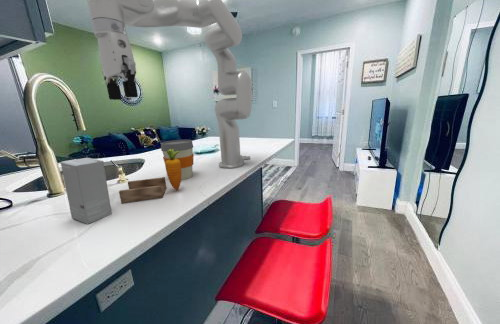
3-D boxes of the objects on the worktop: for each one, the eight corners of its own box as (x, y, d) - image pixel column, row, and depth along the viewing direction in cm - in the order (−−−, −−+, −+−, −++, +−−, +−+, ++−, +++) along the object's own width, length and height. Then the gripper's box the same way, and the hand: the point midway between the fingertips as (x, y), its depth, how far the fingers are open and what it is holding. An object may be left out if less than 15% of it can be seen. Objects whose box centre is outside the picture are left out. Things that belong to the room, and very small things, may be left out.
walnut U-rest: (166, 187, 76) (164, 177, 75) (162, 197, 67) (160, 186, 66) (130, 192, 73) (128, 181, 72) (121, 203, 64) (118, 191, 63)
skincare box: (71, 218, 56) (54, 162, 52) (99, 207, 62) (87, 156, 58) (87, 225, 52) (71, 165, 48) (116, 212, 58) (103, 158, 54)
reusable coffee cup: (166, 174, 92) (161, 141, 88) (195, 171, 96) (192, 138, 92) (164, 183, 80) (158, 145, 77) (197, 179, 84) (193, 142, 80)
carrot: (176, 187, 76) (170, 147, 72) (187, 188, 74) (181, 147, 70) (166, 192, 71) (159, 149, 68) (177, 194, 69) (171, 150, 66)
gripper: (141, 27, 53) (152, 96, 58) (111, 42, 63) (123, 100, 67) (109, 17, 47) (123, 95, 52) (82, 35, 57) (96, 100, 61)
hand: (123, 98), depth 60 cm, fingers open, 9 cm apart
